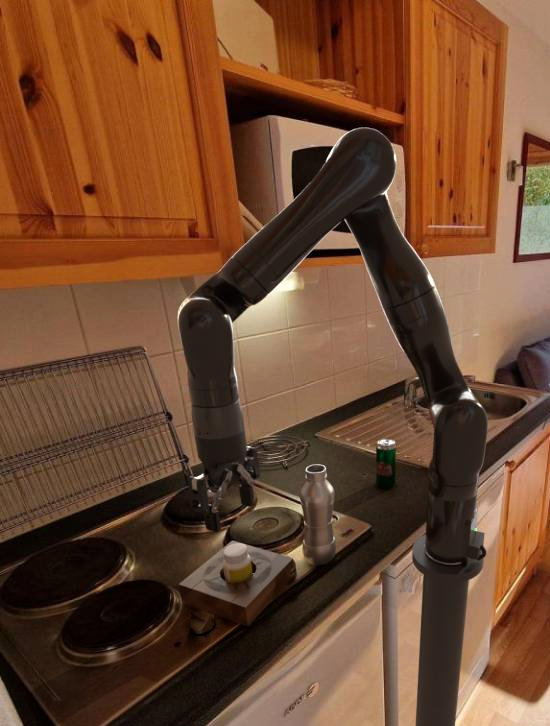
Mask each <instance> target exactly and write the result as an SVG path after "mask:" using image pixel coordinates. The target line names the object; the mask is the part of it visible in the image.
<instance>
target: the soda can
mask: <svg viewBox="0 0 550 726" xmlns="http://www.w3.org/2000/svg"><path fill="white" fill-rule="evenodd" d="M396 477H397V444H396V442H395V440H394V439H390V438H382V439H379V440H378V441H377V443H376V446H375V484H376V486H377V487H378V488H380V489H384V490H385V489H391V488H393V487H394V486H395V485H396V483H397V481H396V480H397V478H396Z"/></svg>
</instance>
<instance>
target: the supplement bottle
mask: <svg viewBox="0 0 550 726" xmlns="http://www.w3.org/2000/svg"><path fill="white" fill-rule="evenodd" d="M241 543H242V542H239V543H236V544H232V545H229V546H227V547H226V548H225V549H224V560H223V569H224V576H225V581H227V582H241V581H245V580H247V579H249V578H250V577H252V576H253V574H252V566H251V559H250V556H249V555H248V551H247V547H246V545H247V544H246V545H244V544H245V543H243V544H241Z"/></svg>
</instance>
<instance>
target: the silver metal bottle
mask: <svg viewBox="0 0 550 726" xmlns="http://www.w3.org/2000/svg"><path fill="white" fill-rule="evenodd" d="M327 479H328V474H327V467H326V466H325V465H323V464H319V463H318V464H311V465H308V466H307V467H306V468H305V480H306V481H305V482H304V484H303V485H302V488H300V492H299V500H300V505H301V509H302V515H303V516H302V517H303V525H304V528H303V529H304V530H303V541H302V548H301V551H302V556H303V558H304V560H305V561H306V562H307V563H308V564H310V565H311V566H324V565H327V564H328V563H330V562H331V561H332V560H333V558H335V556H336V552H337V551H336V550H337V542H336V539H335V535H334V527H333V514H334V513H333V512H334V511H333V510H334V503H335V494H336V493H335V489H334V487H333V485H332V484H331V482H329V481H328V480H327Z"/></svg>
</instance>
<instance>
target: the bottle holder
mask: <svg viewBox="0 0 550 726" xmlns="http://www.w3.org/2000/svg"><path fill="white" fill-rule="evenodd" d="M236 543H241V544H244V545H246V547H247V551H248V555H249V556H250V559H251V566H252V573H255V574H254V575H253V576H252V577H250V578H249V579H247V580H245V581H241V582H227V581H225V576H224V569H223V560H224V549H225V548H226V547H227V546H229V545H232V544H236ZM294 564H295V563H294V557H291V556H287V555H283V554H279V553H277V552H273V551H271V550H266V549H263V548H260V547H255V546H253V545H249V544H246V543H242V542H240V541H236V540H231V541H229V542H228V543H227V544H226V545H225V546H223V547H222V548H221V549H220V550H218V551H217V552H216V553H215V554H214V555H213V556H211V557H209V559H208V560H207V561H205V562H204V563H203V564H201V565H200V566H199V567H198V568H197V569H196V570H194V571H193V572H192V573H190V574H189V575H188V576H186V578H185V579H183V580H182V581H181V582H179V583H178V589H179V594H180V600H181V603H182V604H185V605H187V606H190V607H193V608H196V609H198V610H201V611H204V612H207V613H209V614H212V615H215V616H218V617H220V618H223V619H225V620H228V621H231V622H234V623H236V624H239V625H241V626H244V627H249V626H250V625H251V624H252V623H253V622H254V621H255V620H256V618H258V616H259V615H260V614H261V613H262V612H263V611H264V610H265V609H266V608H267V606H268V605H269V604H270V603H272V601H273V600H274V599H275V598H276V597H277V595H279V593H280V592H281V591H282V590H283V589H284V588H285V587H286V586H287V584H288V583H290V581H291V580H293V578H294V577H295V571H294V572H293V573H292V574H291V575H290V573H291V570H292V568H293V567H294V568H295V565H294ZM289 576H290V577H289Z"/></svg>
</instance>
